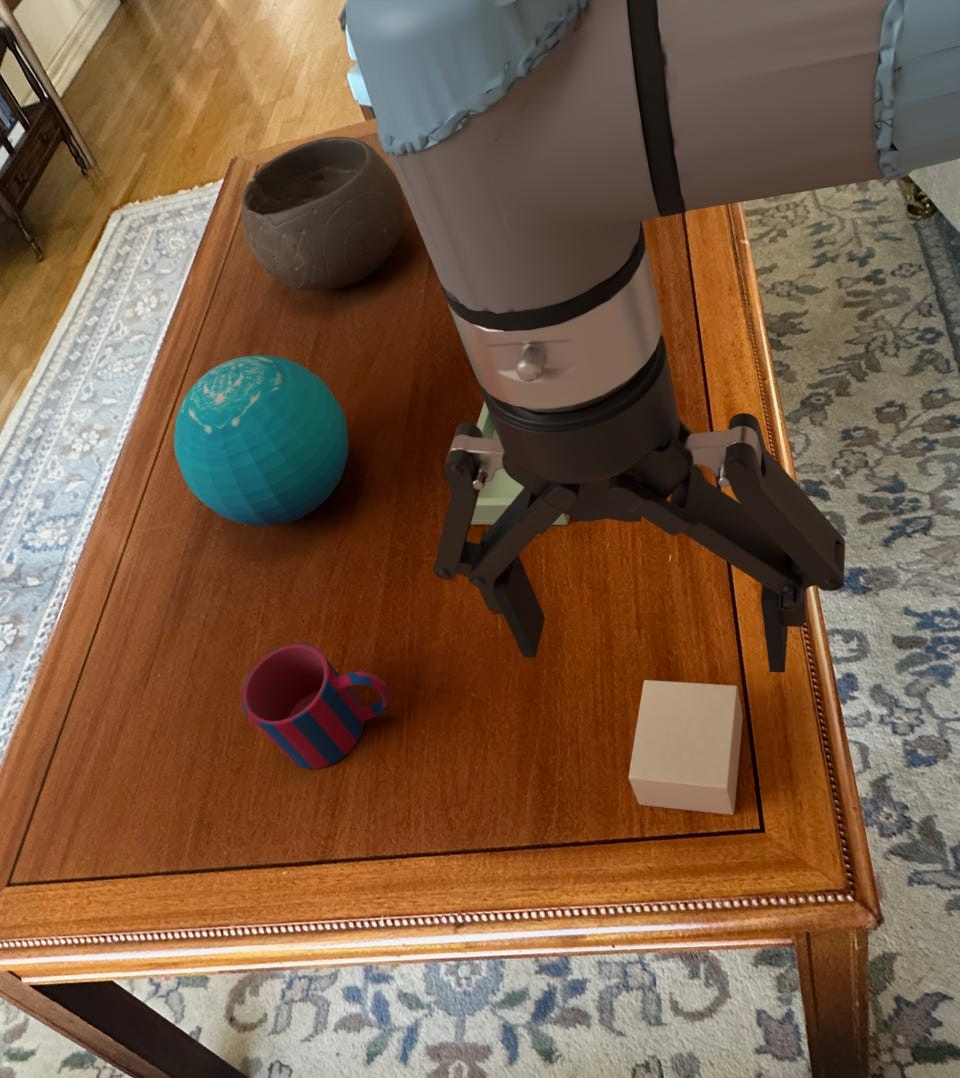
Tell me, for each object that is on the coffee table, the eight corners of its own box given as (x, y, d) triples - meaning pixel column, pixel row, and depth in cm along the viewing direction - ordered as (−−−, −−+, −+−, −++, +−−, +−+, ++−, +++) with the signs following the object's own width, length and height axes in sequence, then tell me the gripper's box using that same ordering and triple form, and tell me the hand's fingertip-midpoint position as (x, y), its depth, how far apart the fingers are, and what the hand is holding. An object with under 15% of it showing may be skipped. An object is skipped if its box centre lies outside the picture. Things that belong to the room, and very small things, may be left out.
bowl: (254, 285, 118) (202, 193, 109) (372, 205, 122) (331, 110, 113) (323, 340, 107) (271, 242, 97) (451, 250, 110) (413, 148, 101)
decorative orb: (380, 425, 95) (316, 302, 84) (366, 544, 85) (293, 423, 74) (240, 455, 98) (161, 340, 87) (212, 573, 89) (120, 461, 78)
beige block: (653, 709, 67) (643, 679, 64) (743, 715, 65) (737, 685, 62) (638, 805, 63) (627, 778, 60) (734, 815, 61) (727, 788, 58)
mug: (294, 691, 77) (255, 645, 72) (412, 686, 74) (380, 638, 69) (273, 770, 73) (230, 726, 68) (396, 768, 70) (361, 723, 65)
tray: (507, 374, 94) (499, 353, 92) (604, 368, 91) (599, 346, 89) (459, 524, 84) (449, 505, 82) (567, 525, 80) (560, 504, 78)
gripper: (265, 431, 41) (427, 687, 57) (914, 410, 32) (895, 722, 48) (324, 313, 45) (460, 581, 61) (911, 265, 36) (895, 595, 52)
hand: (651, 644), depth 54 cm, fingers open, 13 cm apart
